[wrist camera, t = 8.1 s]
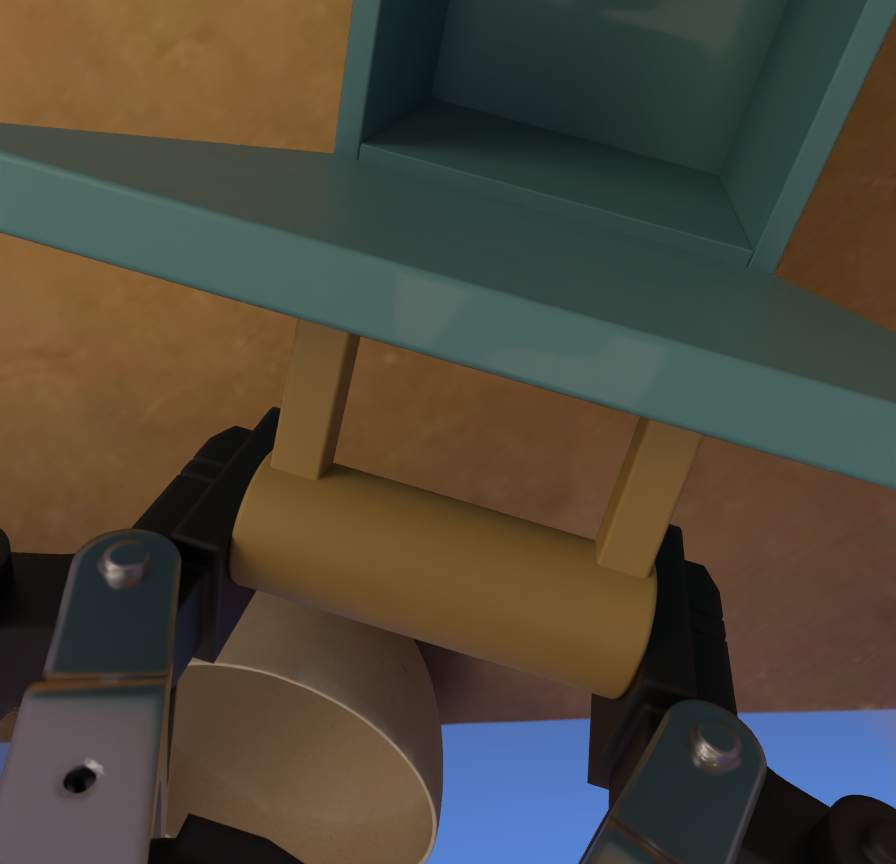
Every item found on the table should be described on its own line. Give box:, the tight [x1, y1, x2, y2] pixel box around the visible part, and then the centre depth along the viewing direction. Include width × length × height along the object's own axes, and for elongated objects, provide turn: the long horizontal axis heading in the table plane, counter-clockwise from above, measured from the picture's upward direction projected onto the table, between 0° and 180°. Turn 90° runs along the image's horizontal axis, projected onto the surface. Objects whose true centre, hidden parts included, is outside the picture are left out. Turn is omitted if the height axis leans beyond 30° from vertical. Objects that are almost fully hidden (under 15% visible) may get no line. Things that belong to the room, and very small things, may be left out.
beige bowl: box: [166, 590, 443, 864], centre depth 44 cm, size 18×18×12 cm
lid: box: [0, 123, 896, 699], centre depth 16 cm, size 16×14×5 cm
